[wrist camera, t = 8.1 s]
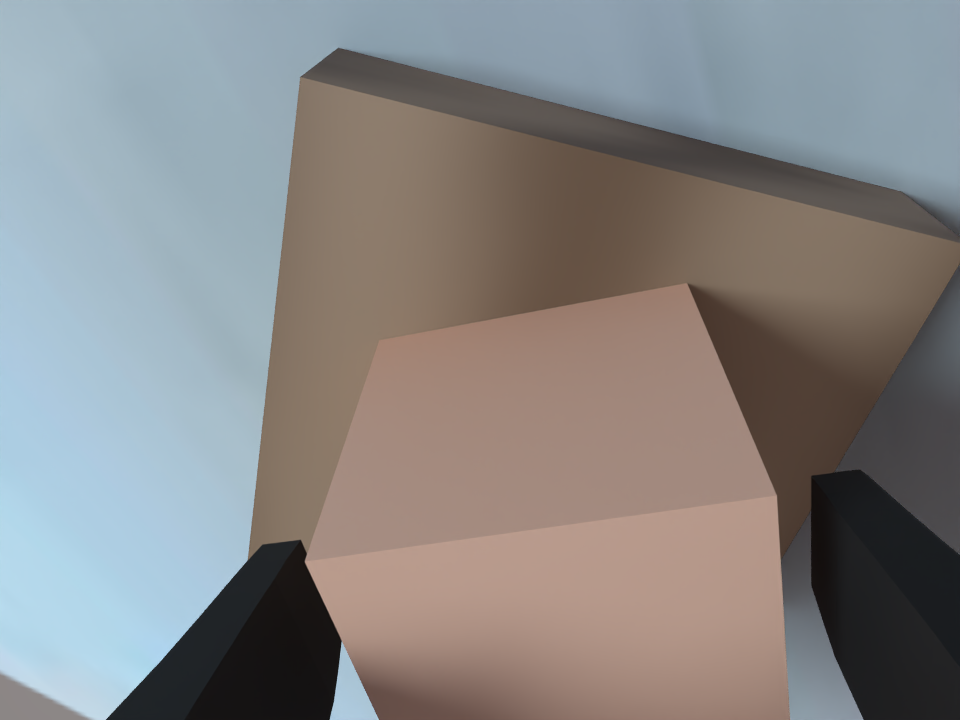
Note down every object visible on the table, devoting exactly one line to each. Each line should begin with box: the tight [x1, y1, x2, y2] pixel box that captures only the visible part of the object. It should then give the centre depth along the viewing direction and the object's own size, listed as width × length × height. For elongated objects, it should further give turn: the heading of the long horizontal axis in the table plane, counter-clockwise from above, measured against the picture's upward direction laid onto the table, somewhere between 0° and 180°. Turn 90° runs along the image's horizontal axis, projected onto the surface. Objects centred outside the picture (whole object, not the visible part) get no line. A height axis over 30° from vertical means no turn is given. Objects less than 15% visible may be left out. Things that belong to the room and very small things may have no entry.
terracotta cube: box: [305, 283, 790, 720], centre depth 11 cm, size 5×5×5 cm
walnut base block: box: [248, 48, 960, 560], centre depth 15 cm, size 10×10×3 cm
